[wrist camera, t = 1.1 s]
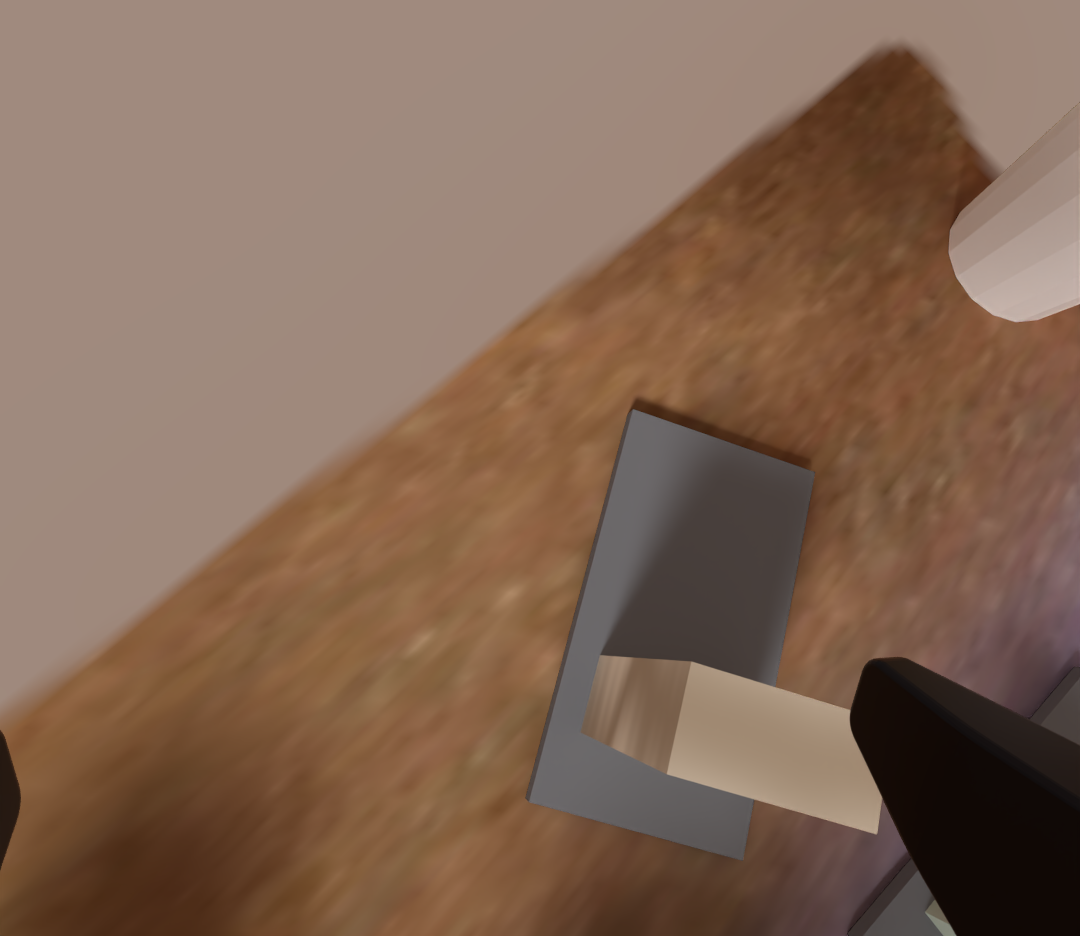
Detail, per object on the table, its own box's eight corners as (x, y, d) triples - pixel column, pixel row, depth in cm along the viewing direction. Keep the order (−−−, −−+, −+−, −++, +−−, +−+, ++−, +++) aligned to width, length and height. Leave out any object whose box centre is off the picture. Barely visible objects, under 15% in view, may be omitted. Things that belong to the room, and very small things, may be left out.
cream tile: (728, 775, 23) (876, 834, 16) (580, 732, 23) (666, 774, 16) (744, 695, 24) (893, 719, 17) (600, 652, 24) (692, 656, 16)
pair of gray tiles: (1212, 631, 29) (1228, 631, 28) (1180, 1172, 24) (1199, 1185, 23) (629, 407, 26) (635, 402, 26) (459, 964, 21) (461, 973, 21)
